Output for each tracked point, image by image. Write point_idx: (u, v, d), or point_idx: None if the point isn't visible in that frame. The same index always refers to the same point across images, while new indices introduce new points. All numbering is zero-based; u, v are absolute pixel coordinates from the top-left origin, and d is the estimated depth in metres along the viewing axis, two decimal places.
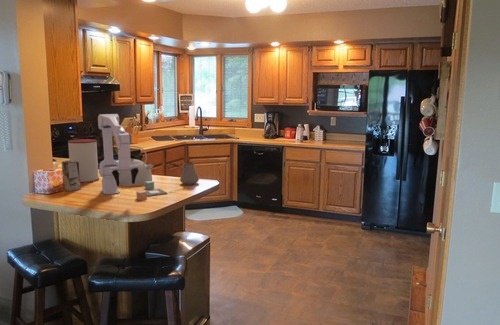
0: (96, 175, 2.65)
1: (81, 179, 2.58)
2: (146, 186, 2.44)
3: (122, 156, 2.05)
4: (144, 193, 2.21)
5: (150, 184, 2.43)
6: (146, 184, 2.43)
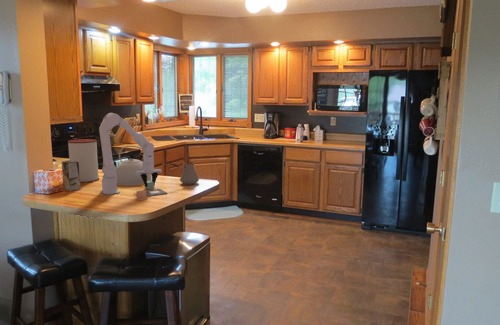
0: (96, 175, 2.65)
1: (81, 179, 2.58)
2: None
3: (153, 161, 2.42)
4: (144, 193, 2.21)
5: (150, 184, 2.43)
6: None
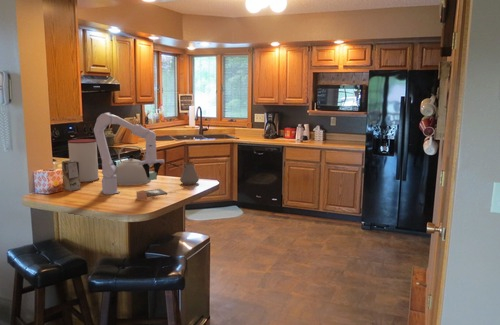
0: (96, 175, 2.65)
1: (81, 179, 2.58)
2: None
3: (155, 151, 2.33)
4: (144, 193, 2.21)
5: (152, 174, 2.35)
6: None
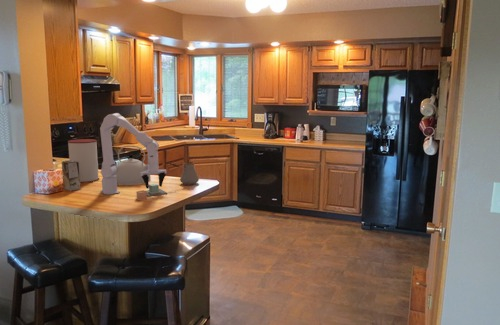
0: (96, 175, 2.65)
1: (81, 179, 2.58)
2: (150, 189, 2.33)
3: (156, 161, 2.29)
4: (144, 193, 2.21)
5: (154, 187, 2.32)
6: (150, 187, 2.32)
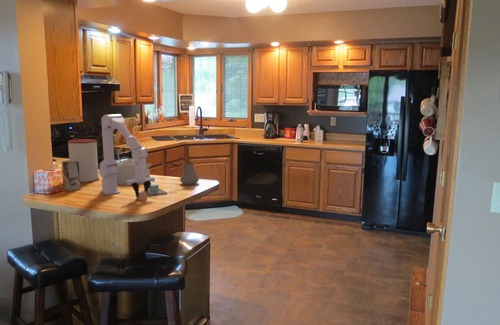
0: (96, 175, 2.65)
1: (81, 179, 2.58)
2: (150, 189, 2.33)
3: (141, 169, 2.17)
4: (144, 193, 2.21)
5: (154, 187, 2.32)
6: (150, 187, 2.32)
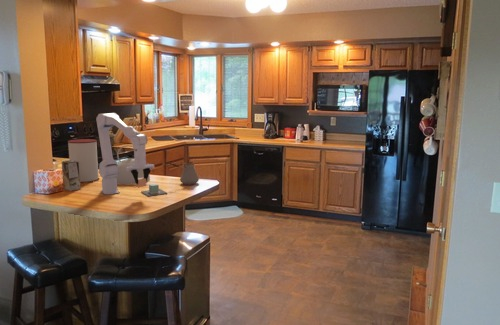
0: (96, 175, 2.65)
1: (81, 179, 2.58)
2: (150, 189, 2.33)
3: (140, 156, 2.16)
4: (144, 180, 2.19)
5: (154, 187, 2.32)
6: (150, 187, 2.32)
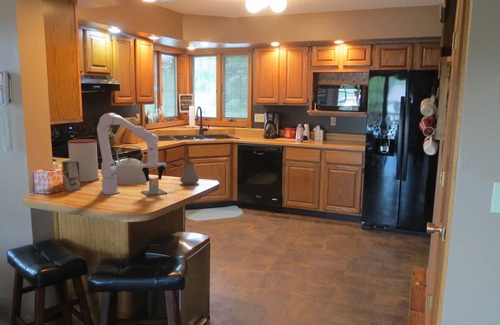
0: (96, 175, 2.65)
1: (81, 179, 2.58)
2: (150, 189, 2.33)
3: (156, 154, 2.29)
4: (156, 179, 2.32)
5: (154, 187, 2.32)
6: (150, 187, 2.32)
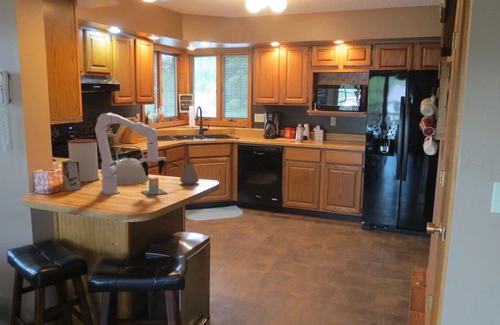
0: (96, 175, 2.65)
1: (81, 179, 2.58)
2: (150, 189, 2.33)
3: (156, 149, 2.28)
4: (156, 179, 2.32)
5: (154, 187, 2.32)
6: (150, 187, 2.32)
